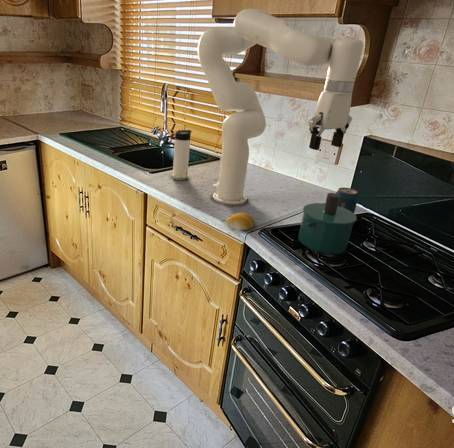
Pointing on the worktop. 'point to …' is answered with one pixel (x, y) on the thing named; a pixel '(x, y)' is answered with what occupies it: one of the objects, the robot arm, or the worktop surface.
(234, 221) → the bread roll
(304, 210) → the lid
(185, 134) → the travel mug
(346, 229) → the pot
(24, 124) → the worktop surface
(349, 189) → the soda can
